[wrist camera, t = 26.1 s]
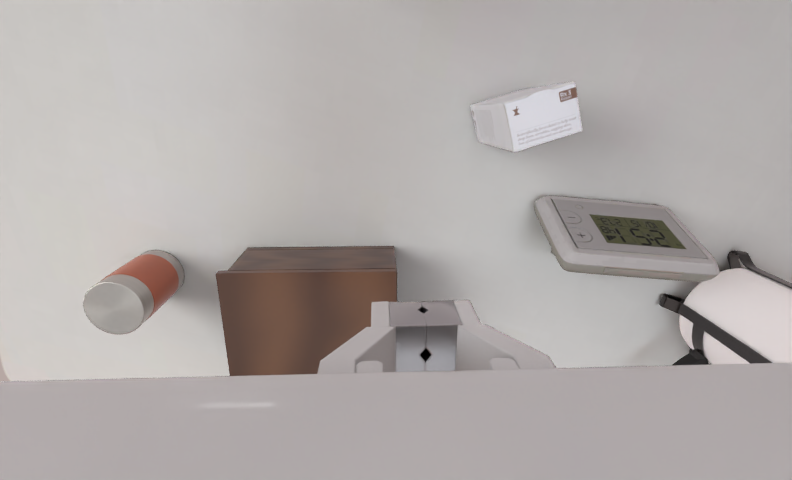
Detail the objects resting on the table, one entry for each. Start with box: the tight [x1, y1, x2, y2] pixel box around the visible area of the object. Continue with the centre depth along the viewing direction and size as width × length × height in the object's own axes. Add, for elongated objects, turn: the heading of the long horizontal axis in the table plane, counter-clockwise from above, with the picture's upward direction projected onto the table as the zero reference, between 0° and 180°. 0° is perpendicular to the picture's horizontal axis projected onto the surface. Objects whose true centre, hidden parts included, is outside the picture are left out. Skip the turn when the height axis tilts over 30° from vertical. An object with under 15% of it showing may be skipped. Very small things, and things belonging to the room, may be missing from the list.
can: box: [83, 250, 184, 334], centre depth 45 cm, size 6×6×9 cm
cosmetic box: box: [470, 81, 583, 153], centre depth 39 cm, size 6×4×12 cm
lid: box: [216, 269, 397, 376], centre depth 44 cm, size 18×16×1 cm
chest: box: [228, 246, 397, 271], centre depth 48 cm, size 17×16×7 cm
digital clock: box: [534, 196, 720, 282], centre depth 45 cm, size 16×9×11 cm, turn 73°
